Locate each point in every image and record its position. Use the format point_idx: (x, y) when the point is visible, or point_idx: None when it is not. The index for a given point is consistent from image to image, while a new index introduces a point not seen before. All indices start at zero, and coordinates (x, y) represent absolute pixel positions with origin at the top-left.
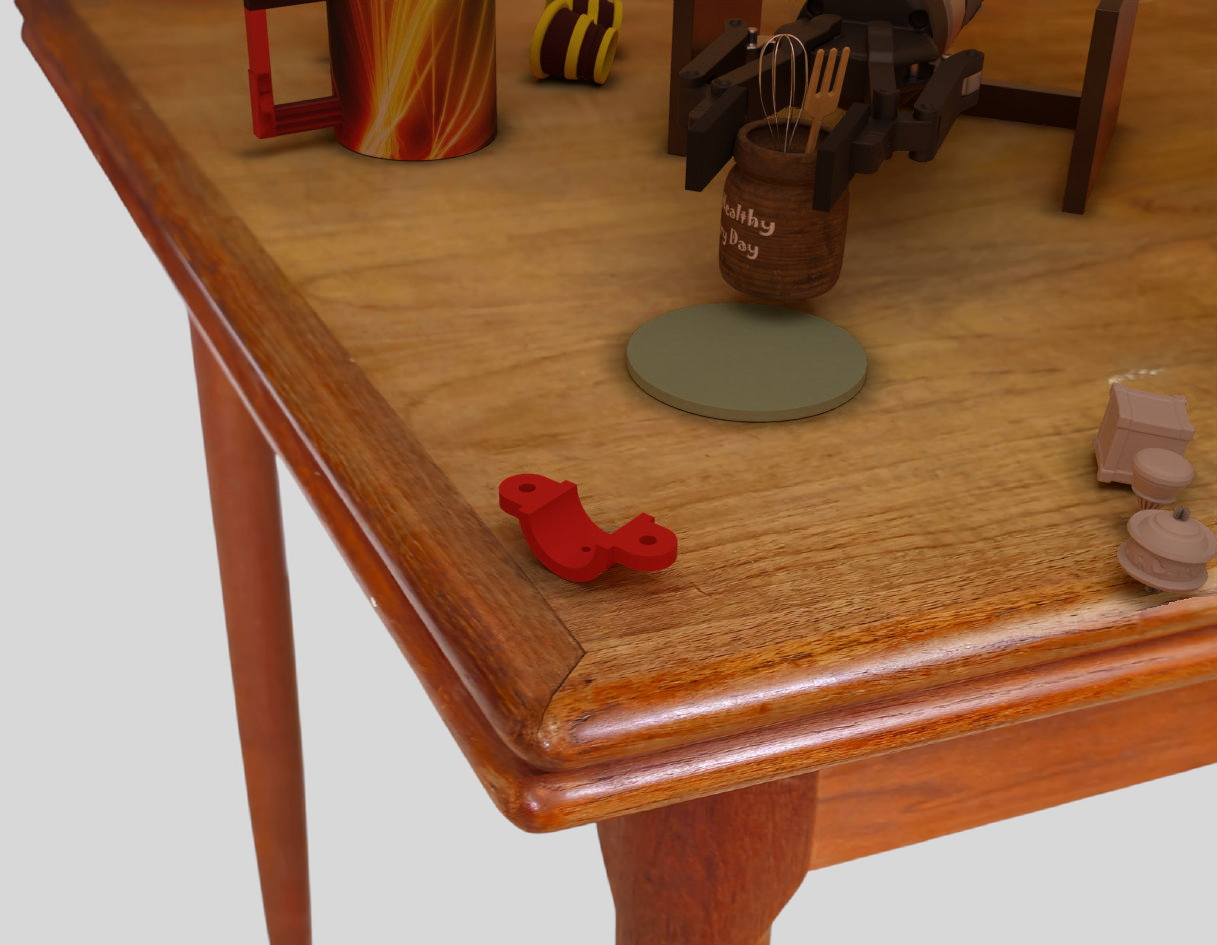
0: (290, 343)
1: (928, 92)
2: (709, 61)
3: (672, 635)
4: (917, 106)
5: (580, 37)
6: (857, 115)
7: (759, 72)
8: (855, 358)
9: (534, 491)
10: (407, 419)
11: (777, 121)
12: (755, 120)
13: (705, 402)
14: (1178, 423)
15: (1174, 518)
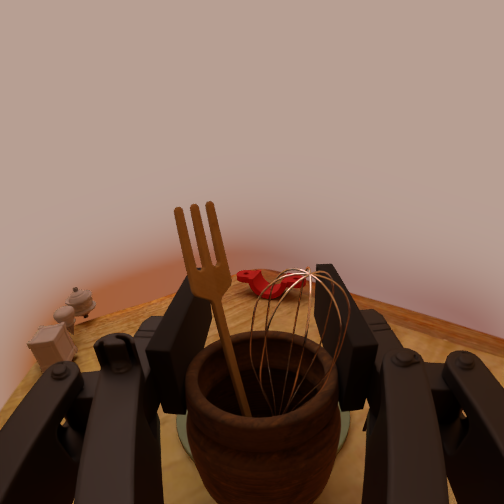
0: (473, 337)
1: (37, 418)
2: (494, 413)
3: (233, 283)
4: (73, 371)
5: None
6: (165, 321)
7: (343, 336)
8: (184, 423)
9: (292, 278)
10: (387, 323)
11: (287, 366)
12: (365, 468)
13: None
14: (42, 328)
15: (78, 290)
